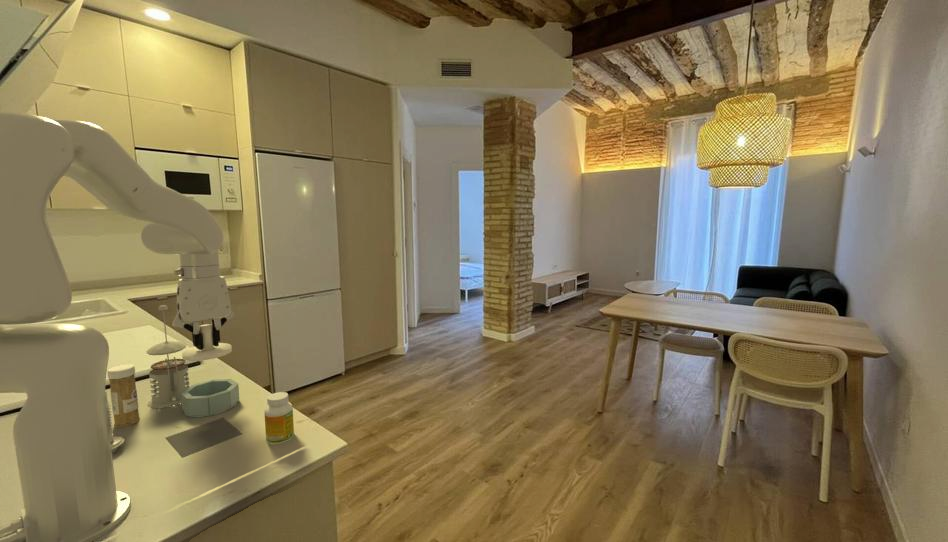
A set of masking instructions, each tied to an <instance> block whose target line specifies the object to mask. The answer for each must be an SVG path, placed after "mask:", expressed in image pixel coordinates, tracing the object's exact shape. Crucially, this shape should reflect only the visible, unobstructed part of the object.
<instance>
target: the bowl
mask: <svg viewBox="0 0 948 542" xmlns="http://www.w3.org/2000/svg"><path fill="white" fill-rule="evenodd" d="M189 386H190V387H189V388H187V389H186V390H185V391H183V392H182V393H181V401H182V404H181V407H182V408H181V410H182V411H183V412H184V414H185V415H186V416H187V417H190V418H205V417H210V416H216V415H219V414H221V413H224V412H227V411H229V410H231V409H232V408H234V407H235V406H236V405H237V404H238V401H239V400H240V388H239V386H240V385H239V382H237V381H236V380H234V379H232V378H222V379H220V378H219V379H210V380H207V381H202V382H199V383H195V384H192V385H189Z"/></svg>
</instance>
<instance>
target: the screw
mask: <svg viewBox="0 0 948 542" xmlns="http://www.w3.org/2000/svg"><path fill="white" fill-rule="evenodd" d="M105 397H106V408H107V417H108V426H109V434H110V442H111V451H112V454H114V453H116V452H117V451H118V449H119V447H120V446H122V445H123V444H124V442H125V437H122V436H117V435H115V436H114V433H113V432H114V429H113V422H112V421H113V420H112V418H113V417H112V411H111V405H110V402H109V401H108V394H107V392H106V391H105Z"/></svg>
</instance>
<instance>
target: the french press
mask: <svg viewBox="0 0 948 542" xmlns="http://www.w3.org/2000/svg"><path fill="white" fill-rule="evenodd" d="M168 309H169V307H168V305H166V304H163V305H159V306H158V311H162V315H163V326H164V336H165V341H163V342H160V343H157V344H155V345H153V346H152V347H150V348H148V349H147V350H146V351H145V352H146V354H147V355H149V356H165V355H166V357H167V358H165V359H164V360H160V361H157V362H154V363H153V364H151V365H150V369H151V370H150V371H149V372H148V373H149V379H152V380H149V383H150V385H149V386H150V392H151V396H150V397H151V399H150V400H149V401H148V402H147V407H149V408H150V407H152V408H151V409H165V408H166V407H167V408H170V407H169V406H172V407H174V406H173V405H176V406H178V405H177V404H179V405H181V404H180V403H182V401H181V393H182V392H183V391H185V390H186V389H187V388H189V387H190V386H191V385H190V378H189V372H188V371H189V368H188V367H189V365H188V364H186V362H187V360H184V359H183V358H176V357H175V356H173V358H170V359H169V355H170V354H171V355H172V354H175V353H178V352H181V351H183V350H184V349H186V348H187V344H185V343H183V342H181V341H173V340H172V341H168V338H167V327H166V319H165V317H166V316H165V311H166V310H168ZM151 384H152V385H151ZM151 389H152V390H151ZM164 407H165V408H164Z"/></svg>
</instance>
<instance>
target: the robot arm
mask: <svg viewBox="0 0 948 542" xmlns="http://www.w3.org/2000/svg"><path fill="white" fill-rule="evenodd" d="M63 177H66V178H69V179H72V180H73V181H74V182H76V183H77V184H79V186H81V187H82V188H84V189H85V191H87V192H89V194H91V195H92V196H93V197H94V198H96V200H98V201H99V202H100V203H101V204H103V205H104V206H105V207H106V208H108V209H109V210H111V212H114V213H116V214H118V215H121V216H124V217H128V218H132V219H135V220H139V221H144V222H148V223H147V224H146V225H145V226H144V227H143V229H142V230H141V233H140V237H141V238H140V239H141V242H142V244H143V245H144V247H145V248H146V249H148V250H149V251H150V252H152V253H155V254H159V255H179V261H180V265H179V267H178V268H177V269H174V270H173V275H174V276H179V277H180V278H179V279H178V281H177V282H178V283H177V288H176V289H177V290H176V315H175V317H174V319H173V320H172V323H171V324H172V326H173V327H175V328H180V329H184V330H187V331H189V332H190V333H191V335H192V337H191V338H192V345H193V346H192V347H196V348H197V349H199V350H203V336H202V333H200V330H199V326H200V322H206V321H210V324H211V325H212V332H213V344H214V346H219V343H220V342H221V335H220V334H221V332H220V330H222V327H223V326H224V325H225V324H226V323H227V321H229V320H231V319H232V318H234V317H235V312H234V311H233V309H232V305H231V301H230V293H229V289H228V284H227V281H226V278H225V276H224V275H221V269H220V257H219V251H220V249H221V248H222V247H223V245H224V238H225V237H224V233H223V230H222V226H221V225H220V223H219V222H218V221H217V219H216V218H215V216H213V215H212V213H211V212H210V211H209V210H208V209H207V208H206V206H204V205H203V204H201V203H200V202H198V201H196V200H194V199H193V198H191V197H189V196H187V195H185V194H183V193H181V192H178V191H177V190H175V189H172V188H170V187H168V186H166V185H163V184H161V183H159V182H158V181H155V180H154V179H153V178H152V177H151V176H150V175H149V174H148V173H147V171H146V170H145V169H143V168H142V166H141V165H140V164H138V162H137V161H136V160H135V159H134V158H133V157H132V156H131V155H130V154H129V153H128V152H127V151H126V150H125V148H124V147H122V145H121V144H120V143H119V142H118V141H117V140H116V139H115V138H114V137H113V136H112V135H111V134H110V133H109V132H108V131H106V130H105V129H104V128H102V127H101V126H99V125H96V124H94V123H93V122H92V123H91V122H88V121H82V120H72V119H53V118H51V119H50V118H48V117H44V116H39V115H35V114H29V113H23V112H22V113H21V112H20V113H19V112H11V111H10V112H9V111H7V112H6V111H0V394H12V393H13V394H19V393H20V394H26V397H27V398H26V401H25V403H24V405H23V406H22V408H21V409H20V411H19V412H18V413H17V416H16V417H15V420H14V421H13V422H14V423H13V425H12V426H13V427H12V428H13V429H12V436H13V437H12V438H13V443H14V448H15V454H16V461H17V466H18V467H17V468H18V473H19V480H20V488H21V492H22V500H23V506H24V507H23V508H21V509H20V511H21V516H18V517H16V518H14V519H11V522H10V523H8V524H7V523H6V524H5V525H3V526H0V542H92V541H93V542H94V541H96V540H97V539H99V538H101V537H102V536H104V535H106V534H107V533H109V532H110V531H112V530H113V529H114V528H116V527H117V526H118V525H119V524H120V523H121V522H122V521H123V520H124V519H125V518H126V517H127V515H128V514H129V512H130V511H131V508H132V499H131V497H130V495H129V494H127V493H125V492H123V491H120V490H117V486H116V479H115V478H116V477H115V469H114V461H113V459H114V458H113V453H112V451H111V442H110V434H109V426H108V417H107V408H106V397H105V392H106V380H107V379H106V378H107V373H108V372H107V371H108V365H109V364H108V363H109V359H110V346H109V342H108V340H107V338H106V337H105V335H104V334H103V333H101V331H99V330H97V329H95V328H93V327H90V326H88V325H82V324H76V323H61V322H60V323H41V322H45V321H49V320H52V319H55V318H57V317H60V316H62V315H63V314H64V313H65V312H67V310H68V309H69V307H70V306H71V304H72V299H73V294H72V288H71V284H70V280H69V278H68V276H67V275H68V274H67V273H66V270H65V268H64V265H63V262H62V259H61V257H60V254H59V251H58V250H57V249H58V248H57V247H56V243H55V241H54V239H53V235H52V233H51V230H50V226H49V224H48V220H47V204H48V202H49V199H50V196H51V194H52V193H53V191H54V189H55V188H56V186H57V184H58V183H59V182H60V181H61V179H62V178H63Z"/></svg>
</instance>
